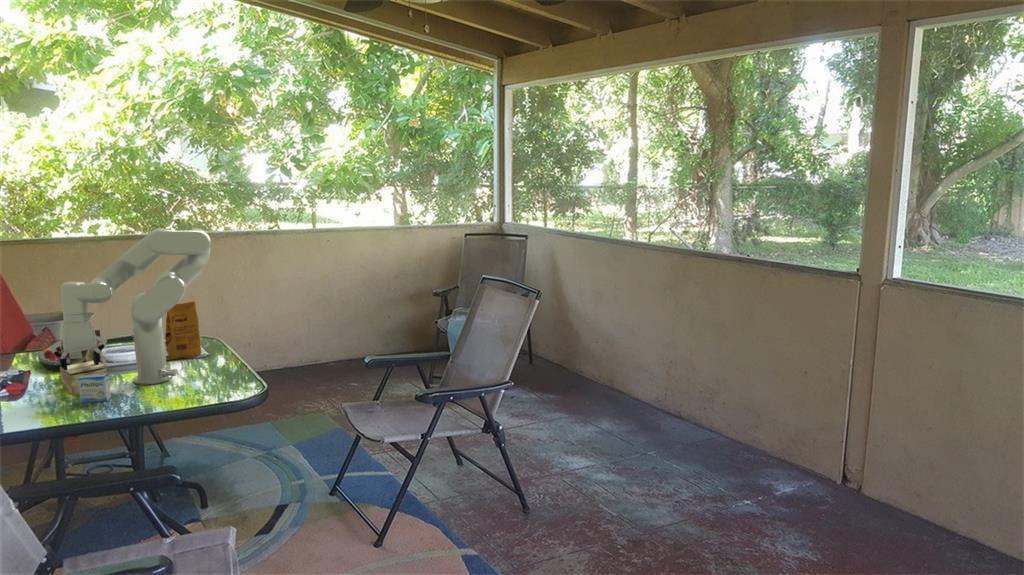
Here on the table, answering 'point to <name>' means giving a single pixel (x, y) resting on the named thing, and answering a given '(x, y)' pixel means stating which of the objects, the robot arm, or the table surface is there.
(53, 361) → the dish
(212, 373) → the table surface
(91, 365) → the carton lid
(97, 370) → the carton
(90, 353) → the coffee box
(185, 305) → the coffee package
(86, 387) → the medicine box
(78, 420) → the table surface
